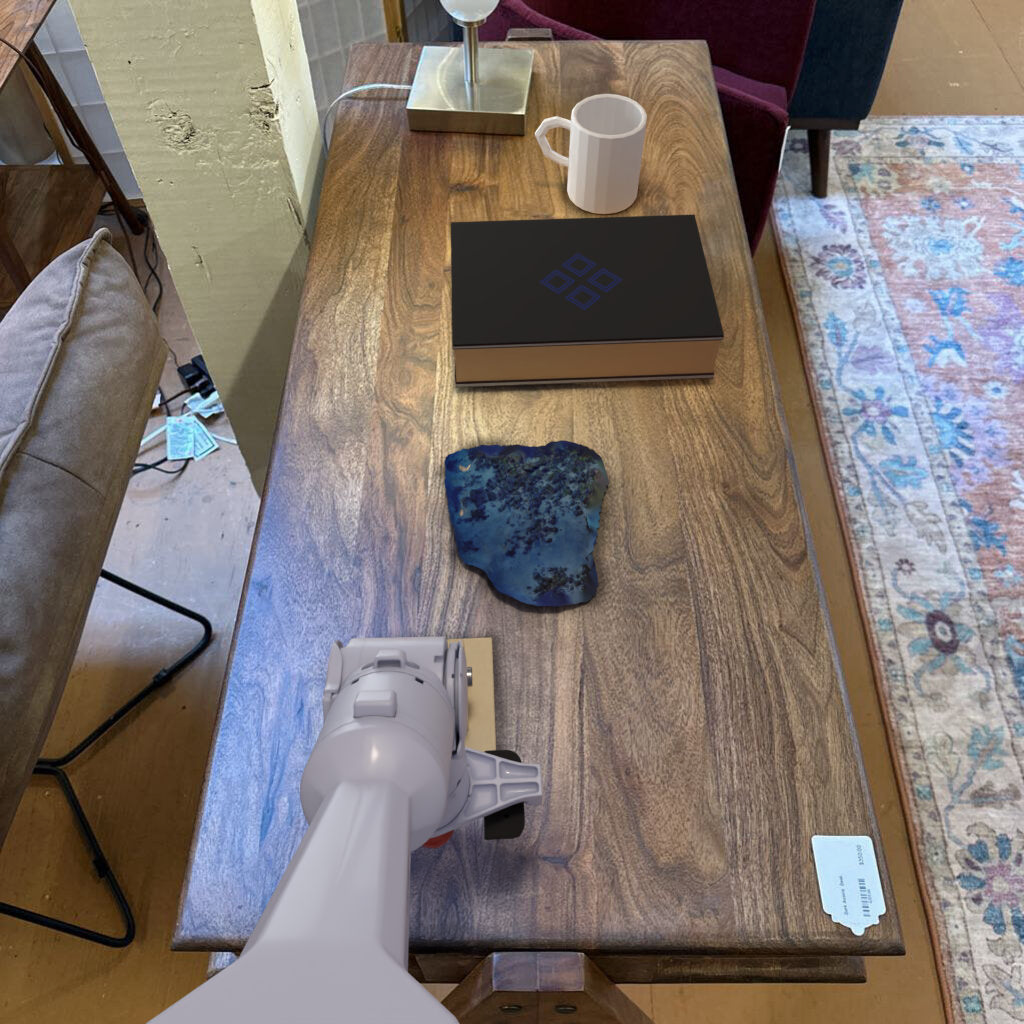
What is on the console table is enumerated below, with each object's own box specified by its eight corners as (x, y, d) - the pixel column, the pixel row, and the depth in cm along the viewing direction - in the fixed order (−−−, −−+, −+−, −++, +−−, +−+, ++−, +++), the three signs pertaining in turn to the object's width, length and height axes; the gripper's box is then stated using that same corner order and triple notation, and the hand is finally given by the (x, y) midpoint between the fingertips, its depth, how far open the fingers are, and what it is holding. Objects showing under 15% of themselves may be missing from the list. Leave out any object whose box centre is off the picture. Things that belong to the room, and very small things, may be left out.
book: (454, 272, 99) (450, 221, 94) (684, 264, 100) (694, 213, 94) (455, 393, 90) (452, 344, 84) (711, 384, 90) (724, 335, 85)
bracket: (497, 778, 68) (495, 740, 62) (375, 783, 68) (360, 746, 62) (492, 643, 74) (490, 596, 68) (380, 648, 74) (367, 601, 68)
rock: (607, 451, 85) (609, 438, 84) (604, 617, 76) (605, 605, 74) (449, 444, 86) (448, 431, 85) (427, 607, 77) (424, 595, 75)
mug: (538, 165, 110) (540, 87, 102) (639, 174, 109) (649, 96, 101) (529, 208, 105) (530, 130, 97) (634, 217, 104) (644, 139, 96)
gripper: (539, 688, 55) (535, 765, 66) (293, 699, 54) (331, 774, 66) (547, 808, 51) (541, 868, 62) (282, 820, 50) (324, 878, 62)
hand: (433, 826), depth 64 cm, fingers open, 7 cm apart
